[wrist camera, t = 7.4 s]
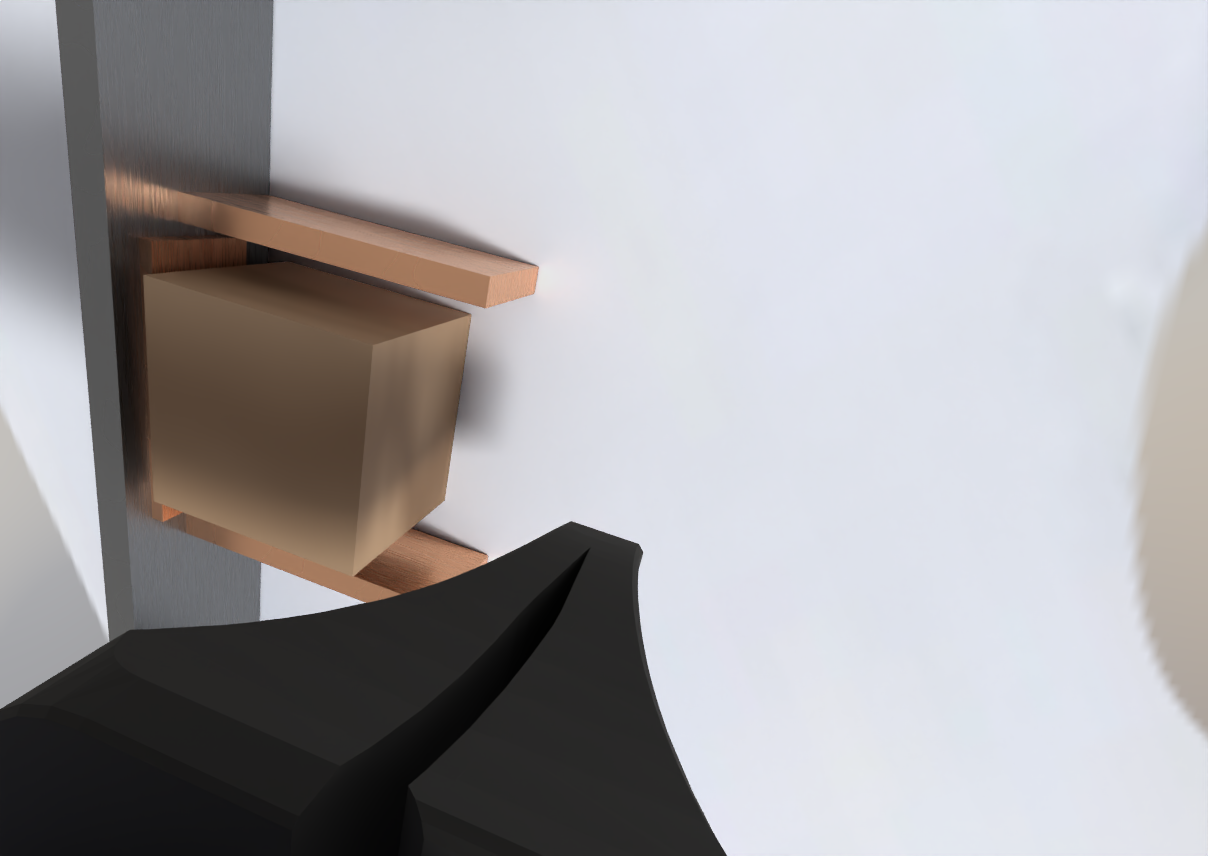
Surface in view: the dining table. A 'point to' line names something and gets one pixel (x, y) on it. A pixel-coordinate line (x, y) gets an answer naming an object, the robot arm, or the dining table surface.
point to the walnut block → (301, 406)
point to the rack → (203, 241)
